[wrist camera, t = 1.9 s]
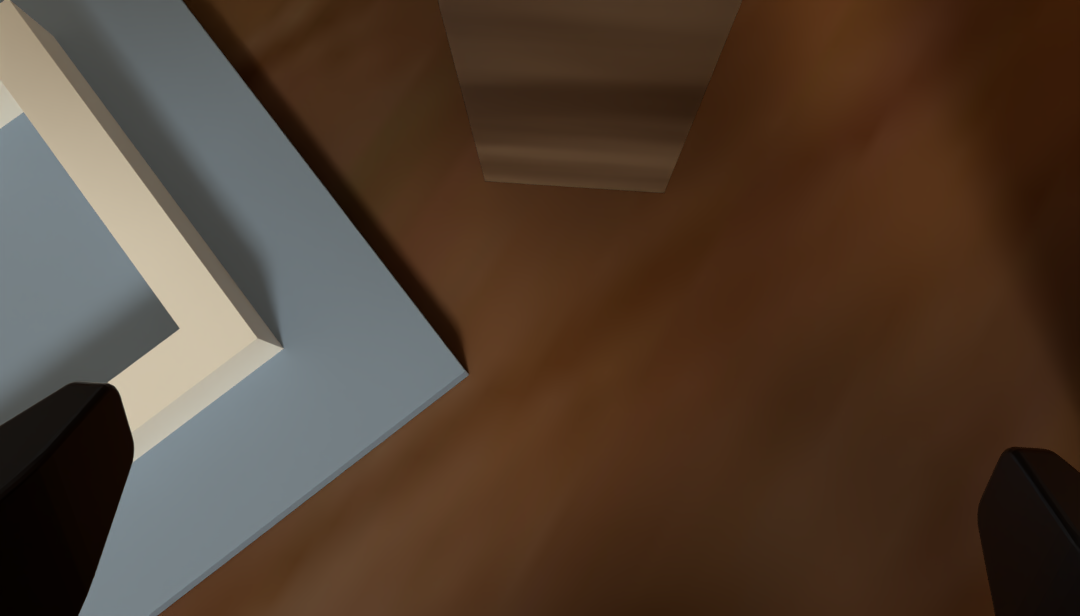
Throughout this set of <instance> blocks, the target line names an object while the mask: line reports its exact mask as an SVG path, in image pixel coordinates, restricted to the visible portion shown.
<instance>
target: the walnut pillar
mask: <svg viewBox="0 0 1080 616" xmlns="http://www.w3.org/2000/svg"><path fill="white" fill-rule="evenodd" d="M741 2H742V0H438V3H439V7H440V11H441V15H442V19H443V23H444V26H445V30H446V34H447V38H448V42H449V46H450V49H451V53H452V57H453V61H454V65H455V68H456V72H457V76H458V80H459V84H460V88H461V91H462V95H463V99H464V103H465V107H466V111H467V114H468V118H469V122H470V126H471V130H472V133H473V137H474V141H475V145H476V149H477V153H478V156H479V160H480V164H481V168H482V172H483V176H484V179H485V181H489V182H505V183H520V184H535V185H550V186H566V187H581V188H596V189H611V190H626V191H642V192H657V193H664V192H665V189H666V187H667V184H668V182H669V179H670V177H671V175H672V172H673V170H674V167H675V165H676V162H677V160H678V157H679V155H680V152H681V150H682V147H683V145H684V143H685V140H686V138H687V135H688V133H689V130H690V128H691V125H692V123H693V120H694V118H695V115H696V113H697V111H698V108H699V106H700V103H701V101H702V98H703V96H704V93H705V91H706V88H707V86H708V83H709V81H710V79H711V76H712V74H713V71H714V69H715V66H716V64H717V61H718V59H719V56H720V54H721V51H722V49H723V47H724V44H725V42H726V39H727V37H728V34H729V32H730V29H731V27H732V24H733V22H734V19H735V17H736V15H737V12H738V10H739V7H740V5H741Z"/></svg>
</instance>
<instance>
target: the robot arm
mask: <svg viewBox="0 0 1080 616" xmlns="http://www.w3.org/2000/svg"><path fill="white" fill-rule="evenodd" d="M133 458H134V441H133V437H132V433H131V430H130V427H129V423H128V420H127V416H126V413H125V410H124V406H123V403H122V399H121V396H120V394H119V391H118V390H117V389H116V387H115V386H113V385H111V384H109V383H100V382H86V381H76V382H71V383H69V384H67V385H65V386H63V387H62V388H60V389H59V390H57V391H55V392H54V393H52V394H50V395H49V396H47V397H45V398H44V399H42V400H41V401H39V402H37V403H36V404H34V405H32V406H31V407H29V408H28V409H26V410H24V411H23V412H21V413H19V414H18V415H16V416H15V417H13V418H11V419H10V420H8V421H6V422H5V423H3V424H2V425H0V616H79V613H80V611H81V609H82V606H83V604H84V602H85V600H86V597H87V595H88V592H89V590H90V587H91V584H92V582H93V579H94V576H95V573H96V570H97V568H98V565H99V562H100V559H101V556H102V553H103V550H104V547H105V544H106V541H107V538H108V535H109V532H110V529H111V526H112V523H113V520H114V517H115V514H116V511H117V508H118V505H119V502H120V499H121V496H122V493H123V490H124V487H125V484H126V481H127V478H128V475H129V472H130V469H131V466H132V463H133ZM978 528H979V533H980V538H981V544H982V549H983V554H984V559H985V565H986V570H987V575H988V580H989V586H990V591H991V596H992V601H993V606H994V612H995V616H1080V472H1078V471H1077V470H1076V469H1075V468H1073V467H1072V466H1071V465H1070V464H1068V463H1067V462H1066V461H1065V460H1064V459H1062V458H1061V457H1060V456H1059V455H1057V454H1056V453H1054V452H1052V451H1050V450H1047V449H1040V448H1026V447H1011V448H1008V449H1006V450H1005V451H1004V452H1003V453H1002V454H1001V456H1000V458H999V460H998V462H997V464H996V466H995V469H994V471H993V473H992V475H991V478H990V480H989V482H988V484H987V486H986V489H985V491H984V493H983V495H982V498H981V500H980V503H979V507H978Z"/></svg>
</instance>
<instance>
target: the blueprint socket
mask: <svg viewBox="0 0 1080 616" xmlns="http://www.w3.org/2000/svg"><path fill="white" fill-rule="evenodd" d="M468 375H469V374H468V373H467V371H466V370H465V369H464V367H463V366H462V365H461V363H460V362H459V361H458V360H457V358H456V357H455V356H454V354H453V353H452V352H451V350H450V349H449V348H448V346H447V345H446V344H445V343H444V341H443V340H442V339H441V337H440V336H439V335H438V333H437V332H436V331H435V329H434V328H433V327H432V326H431V324H430V323H429V322H428V320H427V319H426V318H425V316H424V315H423V314H422V313H421V311H420V310H419V309H418V307H417V306H416V305H415V303H414V302H413V301H412V299H411V298H410V297H409V296H408V294H407V293H406V292H405V290H404V289H403V288H402V286H401V285H400V284H399V282H398V281H397V280H396V279H395V277H394V276H393V275H392V273H391V272H390V271H389V269H388V268H387V267H386V266H385V264H384V263H383V262H382V260H381V259H380V258H379V256H378V255H377V254H376V252H375V251H374V250H373V249H372V247H371V246H370V245H369V243H368V242H367V241H366V239H365V238H364V237H363V235H362V234H361V233H360V232H359V230H358V229H357V228H356V226H355V225H354V224H353V222H352V221H351V220H350V219H349V217H348V216H347V215H346V213H345V212H344V211H343V209H342V208H341V207H340V205H339V204H338V203H337V202H336V200H335V199H334V198H333V196H332V195H331V194H330V192H329V191H328V190H327V188H326V187H325V186H324V185H323V183H322V182H321V181H320V179H319V178H318V177H317V175H316V174H315V173H314V171H313V170H312V169H311V168H310V166H309V165H308V164H307V162H306V161H305V160H304V158H303V157H302V156H301V155H300V153H299V152H298V151H297V149H296V148H295V147H294V145H293V144H292V143H291V141H290V140H289V139H288V138H287V136H286V135H285V134H284V132H283V131H282V130H281V128H280V127H279V126H278V124H277V123H276V122H275V121H274V119H273V118H272V117H271V115H270V114H269V113H268V111H267V110H266V109H265V108H264V106H263V105H262V104H261V102H260V101H259V100H258V98H257V97H256V96H255V94H254V93H253V92H252V91H251V89H250V88H249V87H248V85H247V84H246V83H245V81H244V80H243V79H242V77H241V76H240V75H239V74H238V72H237V71H236V70H235V68H234V67H233V66H232V64H231V63H230V62H229V61H228V59H227V58H226V57H225V55H224V54H223V53H222V51H221V50H220V49H219V47H218V46H217V45H216V44H215V42H214V41H213V40H212V38H211V37H210V36H209V34H208V33H207V32H206V30H205V29H204V28H203V27H202V25H201V24H200V23H199V21H198V20H197V19H196V17H195V16H194V15H193V14H192V12H191V11H190V10H189V8H188V7H187V6H186V4H185V3H184V2H183V0H0V425H2V424H3V423H5V422H6V421H8V420H10V419H11V418H13V417H15V416H16V415H18V414H19V413H21V412H23V411H24V410H26V409H28V408H29V407H31V406H32V405H34V404H36V403H37V402H39V401H41V400H42V399H44V398H45V397H47V396H49V395H50V394H52V393H54V392H55V391H57V390H59V389H60V388H62V387H63V386H65V385H67V384H69V383H71V382H76V381H86V382H100V383H109V384H111V385H113V386H115V387H116V389H117V390H118V391H119V394H120V396H121V399H122V403H123V406H124V410H125V413H126V416H127V420H128V423H129V427H130V430H131V433H132V437H133V441H134V458H133V463H132V466H131V469H130V472H129V475H128V478H127V481H126V484H125V487H124V490H123V493H122V496H121V499H120V502H119V505H118V508H117V511H116V514H115V517H114V520H113V523H112V526H111V529H110V532H109V535H108V538H107V541H106V544H105V547H104V550H103V553H102V556H101V559H100V562H99V565H98V568H97V570H96V573H95V576H94V579H93V582H92V584H91V587H90V590H89V592H88V595H87V597H86V600H85V602H84V604H83V606H82V609H81V611H80V613H79V616H157V615H159V614H160V613H161V612H162V611H164V610H165V609H166V608H168V607H169V606H170V605H171V604H173V603H174V602H175V601H177V600H178V599H179V598H181V597H182V596H183V595H184V594H186V593H187V592H188V591H190V590H191V589H192V588H194V587H195V586H196V585H197V584H199V583H200V582H201V581H203V580H204V579H205V578H206V577H208V576H209V575H210V574H212V573H213V572H214V571H216V570H217V569H218V568H219V567H221V566H222V565H223V564H225V563H226V562H227V561H228V560H230V559H231V558H232V557H234V556H235V555H236V554H238V553H239V552H240V551H241V550H243V549H244V548H245V547H247V546H248V545H249V544H251V543H252V542H253V541H254V540H256V539H257V538H258V537H260V536H261V535H262V534H263V533H265V532H266V531H267V530H269V529H270V528H271V527H273V526H274V525H275V524H276V523H278V522H279V521H280V520H282V519H283V518H284V517H286V516H287V515H288V514H289V513H291V512H292V511H293V510H295V509H296V508H297V507H298V506H300V505H301V504H302V503H304V502H305V501H306V500H308V499H309V498H310V497H311V496H313V495H314V494H315V493H317V492H318V491H319V490H321V489H322V488H323V487H324V486H326V485H327V484H328V483H330V482H331V481H332V480H333V479H335V478H336V477H337V476H339V475H340V474H341V473H343V472H344V471H345V470H346V469H348V468H349V467H350V466H352V465H353V464H354V463H356V462H357V461H358V460H359V459H361V458H362V457H363V456H365V455H366V454H367V453H368V452H370V451H371V450H372V449H374V448H375V447H376V446H378V445H379V444H380V443H381V442H383V441H384V440H385V439H387V438H388V437H389V436H391V435H392V434H393V433H394V432H396V431H397V430H398V429H400V428H401V427H402V426H403V425H405V424H406V423H407V422H409V421H410V420H411V419H413V418H414V417H415V416H416V415H418V414H419V413H420V412H422V411H423V410H424V409H426V408H427V407H428V406H429V405H431V404H432V403H433V402H435V401H436V400H437V399H438V398H440V397H441V396H442V395H444V394H445V393H446V392H448V391H449V390H450V389H451V388H453V387H454V386H455V385H457V384H458V383H459V382H460V381H462V380H463V379H464V378H466V377H467V376H468Z"/></svg>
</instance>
